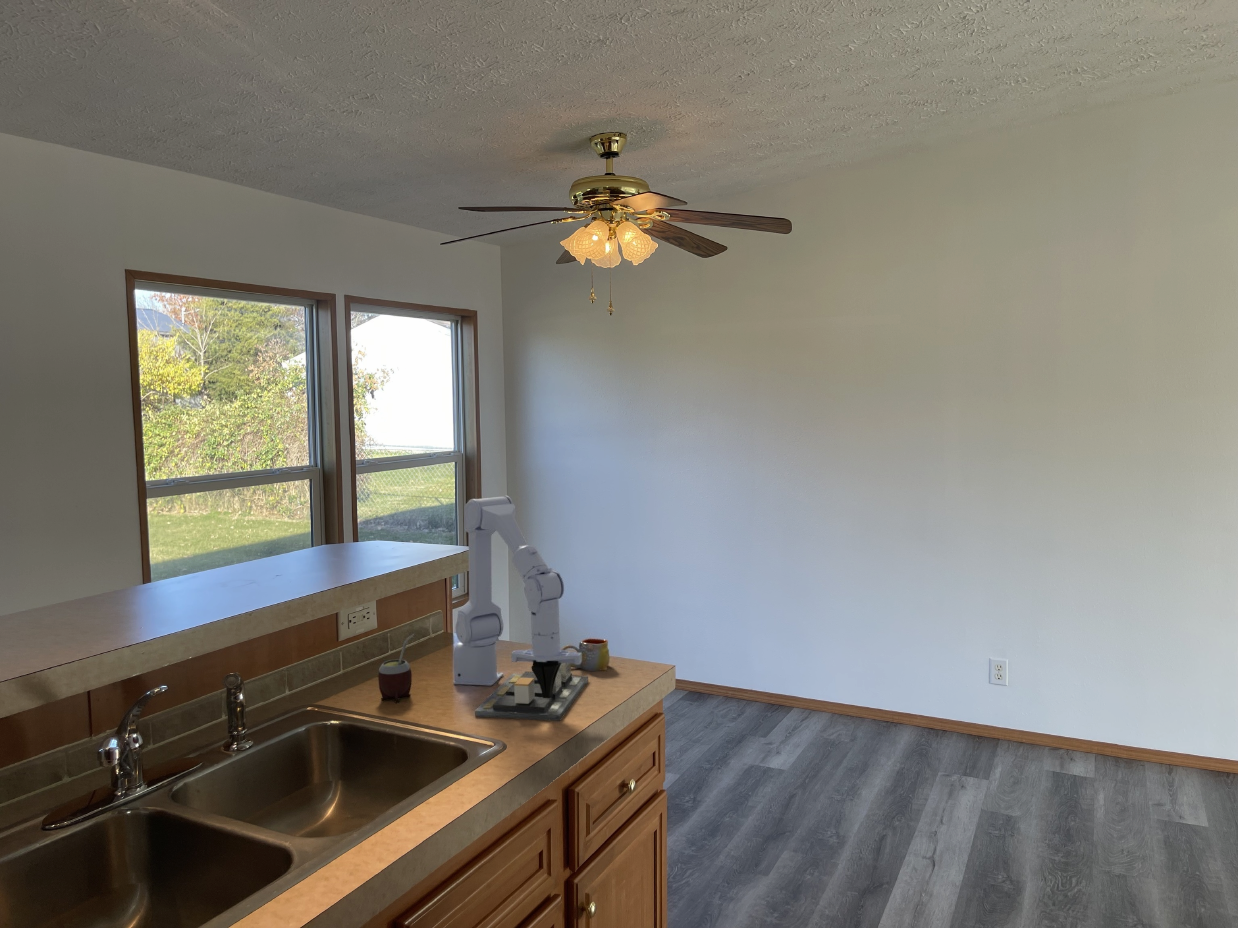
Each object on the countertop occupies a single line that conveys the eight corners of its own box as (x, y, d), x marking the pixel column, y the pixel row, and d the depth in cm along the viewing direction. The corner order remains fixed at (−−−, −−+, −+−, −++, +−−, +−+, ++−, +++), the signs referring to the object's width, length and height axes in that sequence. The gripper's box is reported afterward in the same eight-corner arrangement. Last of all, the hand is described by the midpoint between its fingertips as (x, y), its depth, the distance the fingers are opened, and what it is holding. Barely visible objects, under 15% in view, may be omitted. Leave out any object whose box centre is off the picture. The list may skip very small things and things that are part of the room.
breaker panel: (474, 716, 170) (473, 685, 169) (513, 678, 193) (512, 651, 193) (559, 720, 166) (558, 689, 166) (588, 681, 190) (587, 653, 189)
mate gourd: (378, 695, 184) (375, 629, 183) (414, 690, 187) (411, 625, 186) (380, 706, 177) (377, 637, 176) (418, 701, 180) (415, 633, 179)
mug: (609, 662, 204) (608, 636, 203) (610, 671, 197) (609, 643, 196) (560, 664, 203) (559, 638, 203) (559, 673, 196) (558, 645, 196)
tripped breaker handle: (514, 702, 170) (514, 683, 170) (521, 696, 174) (520, 677, 174) (528, 703, 169) (528, 684, 169) (534, 696, 173) (534, 677, 173)
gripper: (505, 635, 167) (507, 701, 168) (574, 638, 164) (576, 705, 165) (516, 626, 174) (518, 689, 175) (583, 628, 171) (585, 692, 172)
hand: (547, 696), depth 170 cm, fingers closed
